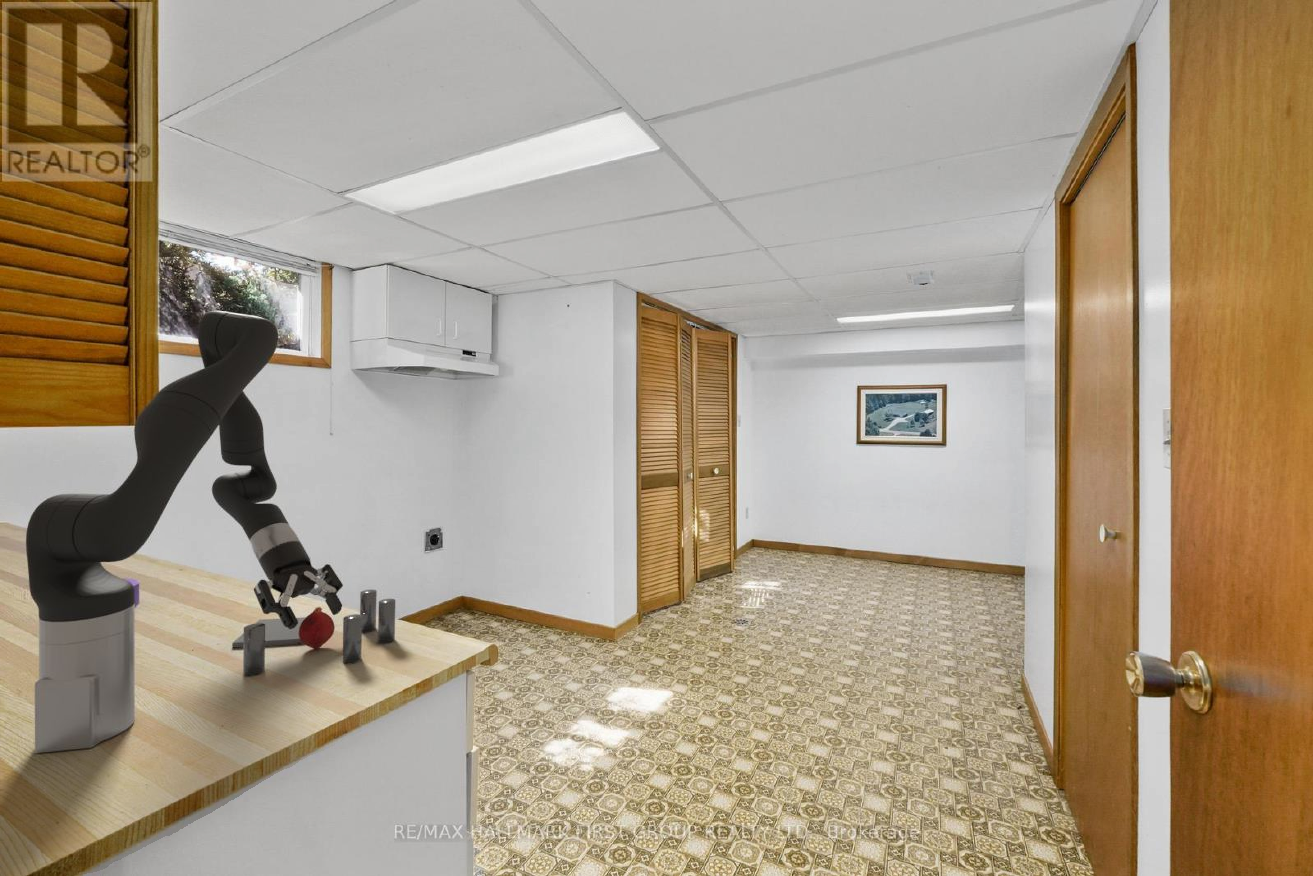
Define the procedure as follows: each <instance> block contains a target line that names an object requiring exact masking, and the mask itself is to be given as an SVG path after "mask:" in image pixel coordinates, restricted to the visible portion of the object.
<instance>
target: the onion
mask: <svg viewBox="0 0 1313 876" xmlns="http://www.w3.org/2000/svg"><path fill="white" fill-rule="evenodd" d="M305 617H306V618H305V619H304V620H303V621H302V623H301V625H300V627H299V633H298V634H299V639H300V640H301V642H302V643H304V644H303V645H305V646H307V647H309V648H311V649H314V650H318V649H320V648H321V647H322V646H323V645H324V644H326V643H327V642H328V641H329V640H330V639H331V638H332V637H333V635H334V633H335V627H336V626H335V623H334V620H333V619H332V617H331V616H330V615H329V614H327V613H326V612H323V609H322V607H321V606H318V607H315V608H314V609H313V611H312V612H310V614H308V615H307V616H305Z"/></svg>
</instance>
